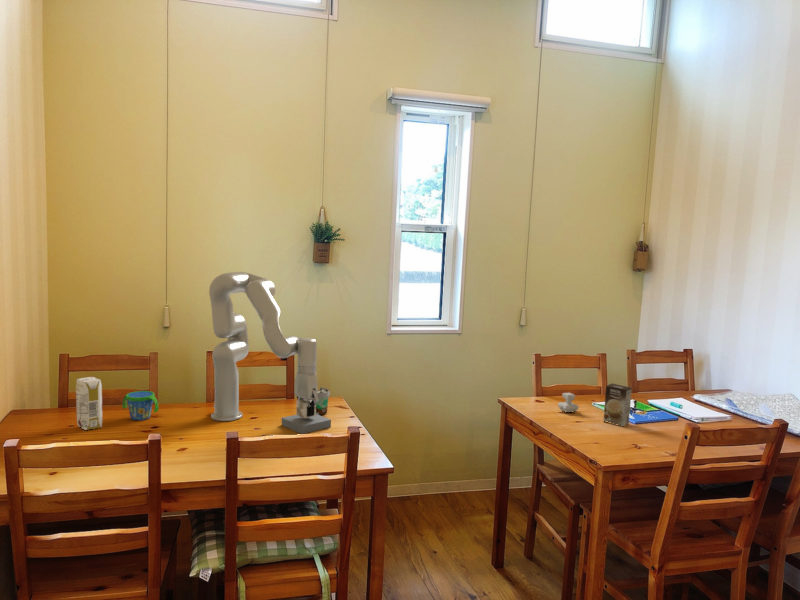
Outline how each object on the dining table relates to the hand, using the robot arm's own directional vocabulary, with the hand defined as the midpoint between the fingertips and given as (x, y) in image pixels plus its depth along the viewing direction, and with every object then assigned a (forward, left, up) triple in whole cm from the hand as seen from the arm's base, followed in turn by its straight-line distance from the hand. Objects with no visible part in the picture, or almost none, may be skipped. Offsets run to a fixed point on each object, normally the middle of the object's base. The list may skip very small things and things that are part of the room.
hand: (306, 413), depth 238 cm
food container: (-10, +15, -5) cm, 19 cm away
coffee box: (+77, +106, -5) cm, 131 cm away
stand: (0, 0, -5) cm, 5 cm away
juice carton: (-49, -66, -5) cm, 82 cm away
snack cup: (-49, -47, -5) cm, 68 cm away
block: (0, 0, -1) cm, 1 cm away
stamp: (+55, +104, -5) cm, 118 cm away
